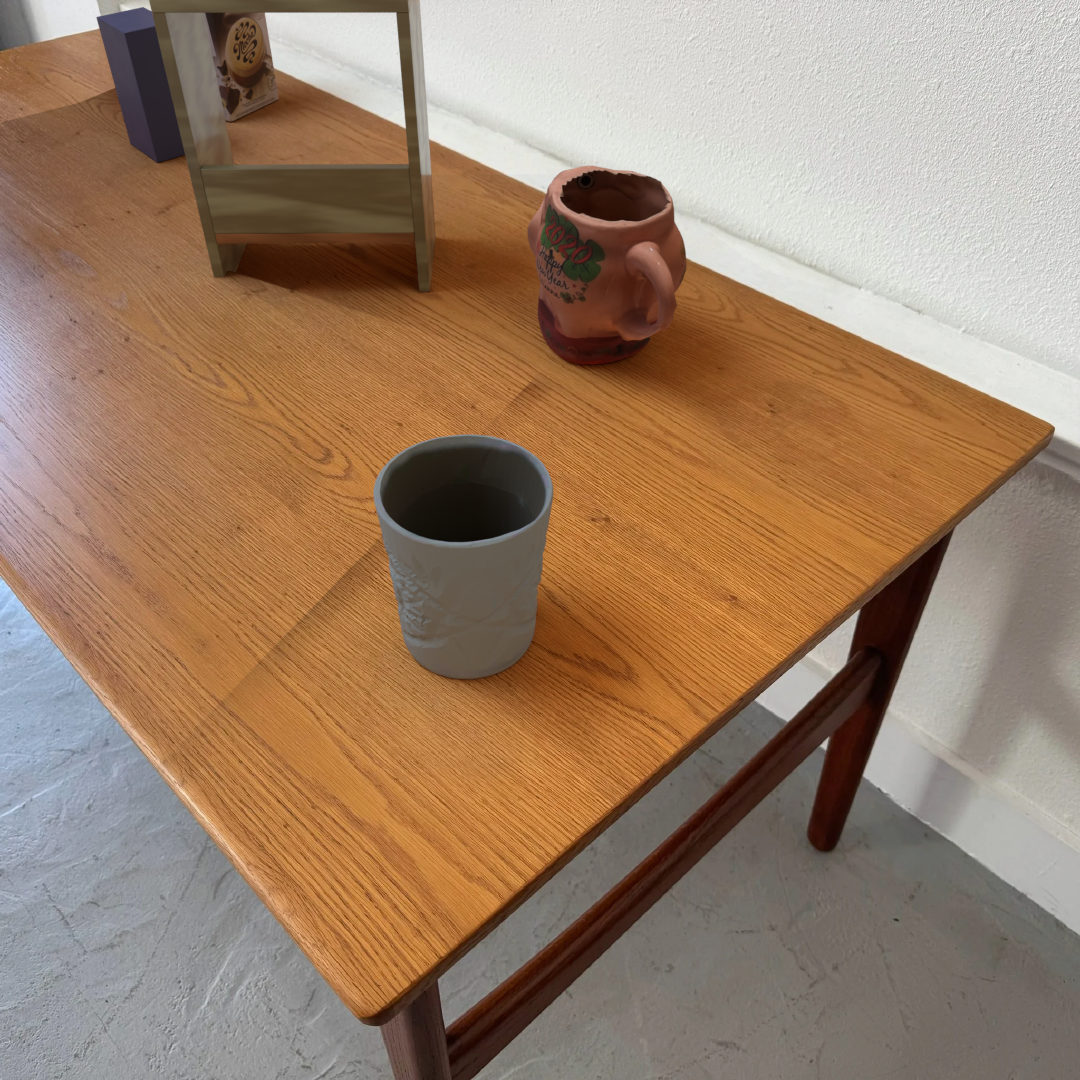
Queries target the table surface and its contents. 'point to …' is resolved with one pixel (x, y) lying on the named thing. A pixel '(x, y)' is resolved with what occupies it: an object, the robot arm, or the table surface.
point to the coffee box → (242, 61)
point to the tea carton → (141, 82)
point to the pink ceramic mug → (605, 263)
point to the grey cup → (465, 549)
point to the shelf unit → (295, 189)
